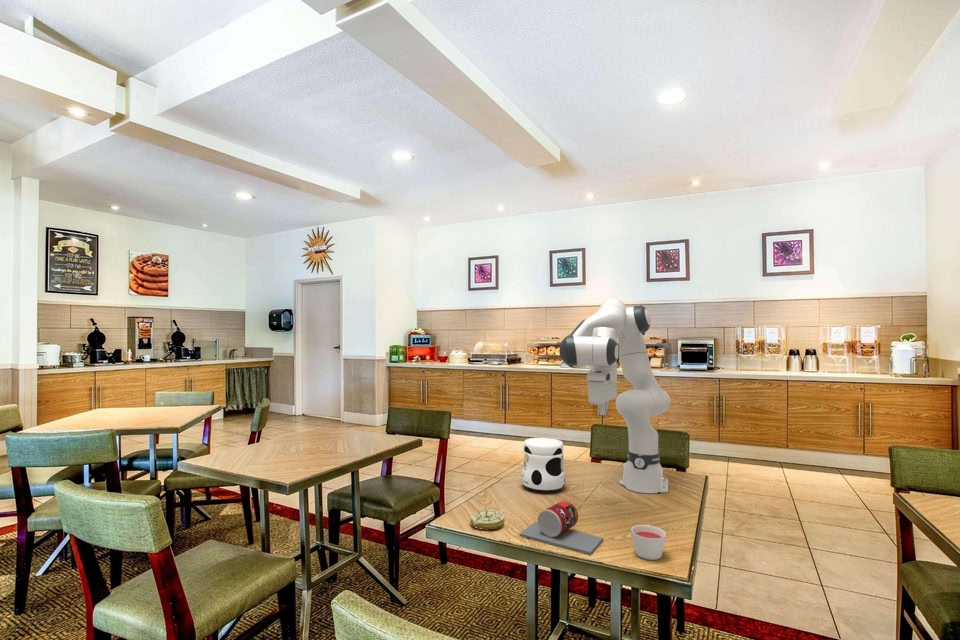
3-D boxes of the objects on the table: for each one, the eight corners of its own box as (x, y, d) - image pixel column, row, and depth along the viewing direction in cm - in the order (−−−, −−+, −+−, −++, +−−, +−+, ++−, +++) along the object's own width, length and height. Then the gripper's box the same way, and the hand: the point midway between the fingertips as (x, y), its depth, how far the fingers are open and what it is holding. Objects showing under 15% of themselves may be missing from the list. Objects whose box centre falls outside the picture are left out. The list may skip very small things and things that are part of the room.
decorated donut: (469, 519, 156) (469, 507, 156) (502, 518, 157) (502, 506, 157) (471, 532, 146) (471, 520, 146) (506, 531, 147) (506, 519, 147)
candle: (637, 544, 138) (637, 522, 138) (669, 553, 133) (669, 530, 133) (626, 555, 131) (626, 532, 131) (660, 565, 126) (660, 541, 126)
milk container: (513, 483, 193) (514, 438, 193) (551, 479, 199) (552, 435, 200) (533, 497, 177) (533, 448, 177) (574, 492, 183) (574, 445, 183)
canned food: (579, 528, 146) (561, 540, 138) (557, 522, 152) (537, 533, 143) (578, 503, 147) (560, 513, 139) (556, 498, 152) (537, 507, 144)
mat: (535, 523, 152) (535, 521, 152) (603, 540, 140) (603, 537, 141) (519, 536, 143) (519, 533, 143) (590, 555, 131) (590, 552, 131)
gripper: (604, 371, 175) (603, 409, 174) (584, 375, 157) (584, 417, 157) (621, 372, 171) (621, 411, 171) (603, 376, 154) (603, 420, 154)
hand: (603, 414), depth 164 cm, fingers closed
